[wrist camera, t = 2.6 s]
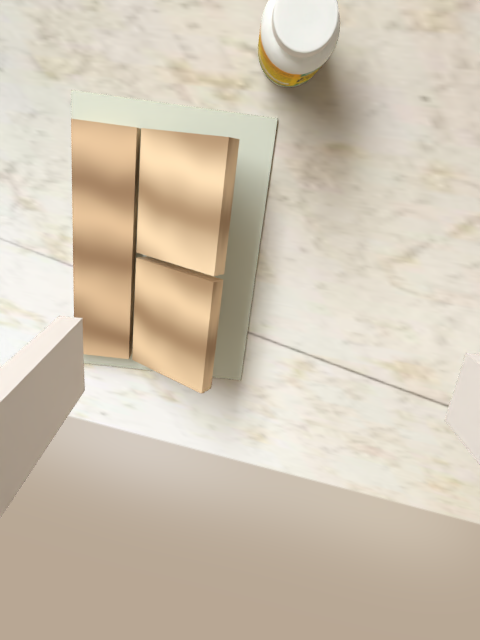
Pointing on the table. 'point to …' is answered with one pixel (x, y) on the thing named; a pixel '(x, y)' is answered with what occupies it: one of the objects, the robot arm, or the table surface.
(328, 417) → the table surface
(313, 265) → the table surface
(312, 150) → the table surface
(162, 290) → the plank
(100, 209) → the laid floorboard
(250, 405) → the table surface
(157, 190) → the plank
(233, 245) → the underlay sheet
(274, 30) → the supplement bottle
